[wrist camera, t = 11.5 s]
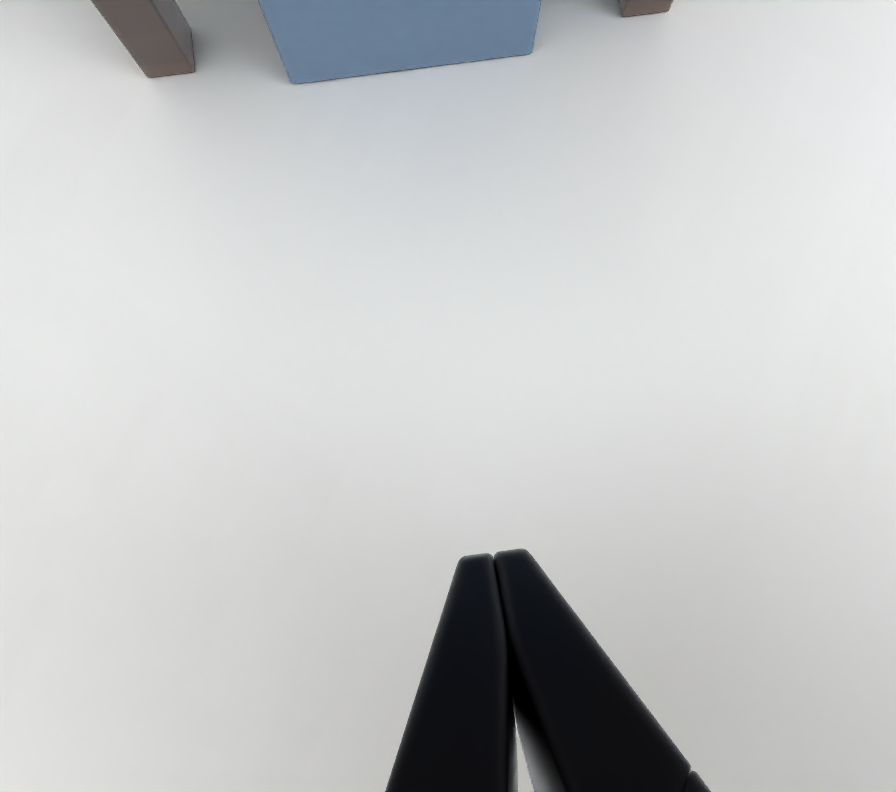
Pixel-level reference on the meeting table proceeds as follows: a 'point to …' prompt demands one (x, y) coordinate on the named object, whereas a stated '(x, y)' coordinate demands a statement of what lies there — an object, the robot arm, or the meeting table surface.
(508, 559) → the robot arm
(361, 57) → the storage box
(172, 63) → the side table
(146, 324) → the meeting table surface
